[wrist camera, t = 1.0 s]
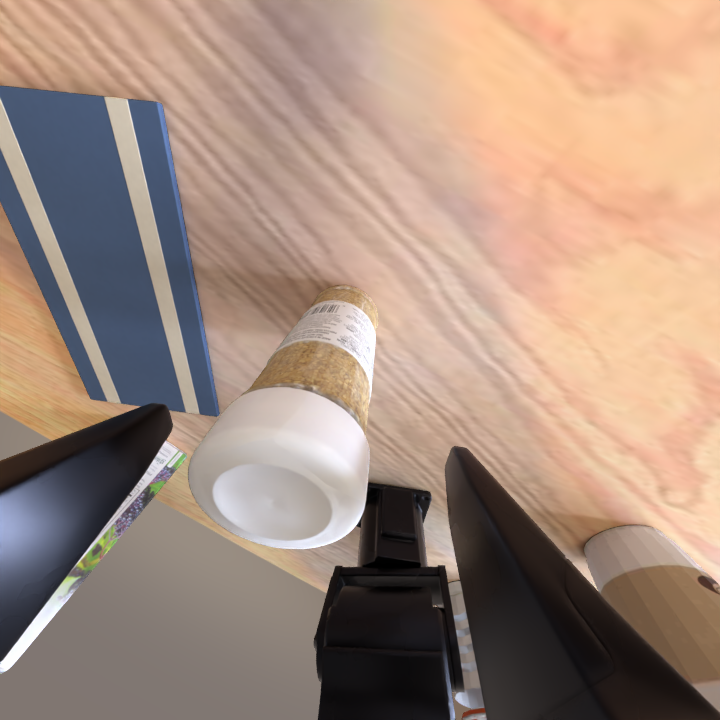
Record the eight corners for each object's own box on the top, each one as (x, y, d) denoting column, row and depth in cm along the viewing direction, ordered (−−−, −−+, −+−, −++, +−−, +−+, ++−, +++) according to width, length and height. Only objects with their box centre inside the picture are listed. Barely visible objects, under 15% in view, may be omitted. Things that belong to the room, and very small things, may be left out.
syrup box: (162, 478, 29) (-17, 693, 16) (107, 445, 27) (-142, 657, 14) (189, 454, 27) (7, 680, 14) (132, 415, 25) (-137, 635, 12)
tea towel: (219, 413, 24) (217, 417, 23) (94, 396, 24) (90, 399, 24) (162, 104, 14) (156, 101, 14) (-46, 82, 14) (-57, 79, 14)
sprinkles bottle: (317, 349, 20) (216, 554, 8) (305, 285, 18) (144, 437, 6) (382, 346, 19) (372, 560, 8) (377, 279, 17) (354, 435, 5)
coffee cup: (721, 546, 26) (1056, 888, 13) (604, 587, 31) (762, 865, 18) (649, 492, 24) (973, 846, 11) (535, 546, 29) (659, 833, 16)
